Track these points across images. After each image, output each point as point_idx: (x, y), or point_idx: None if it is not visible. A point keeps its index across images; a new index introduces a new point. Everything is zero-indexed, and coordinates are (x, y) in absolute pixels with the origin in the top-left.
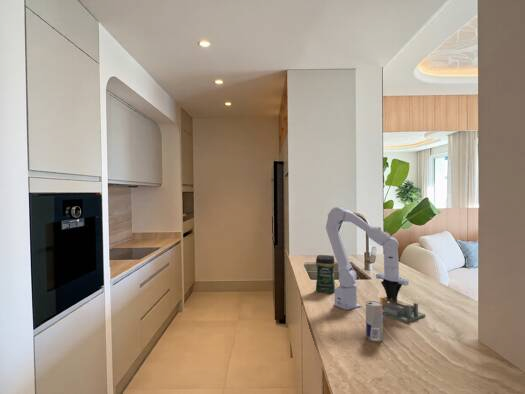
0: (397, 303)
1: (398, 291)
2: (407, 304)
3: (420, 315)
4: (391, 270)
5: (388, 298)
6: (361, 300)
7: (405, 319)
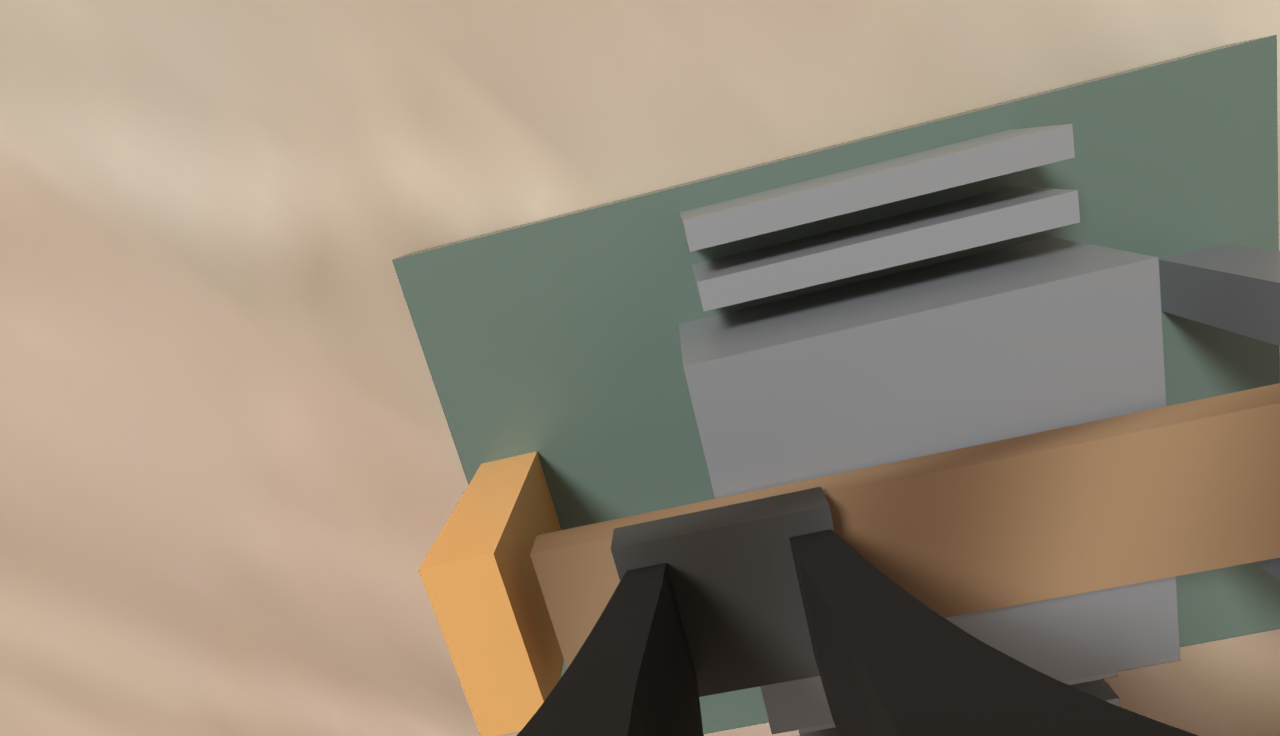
0: (979, 605)
1: (979, 655)
2: (1203, 467)
3: (1265, 206)
4: None
5: (696, 679)
6: (20, 606)
7: (1248, 615)
